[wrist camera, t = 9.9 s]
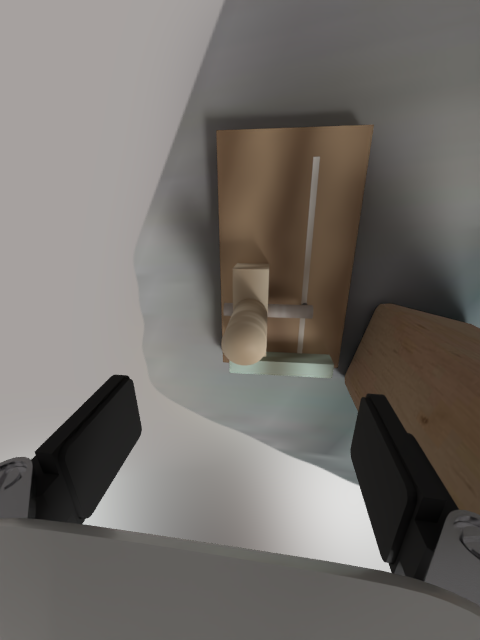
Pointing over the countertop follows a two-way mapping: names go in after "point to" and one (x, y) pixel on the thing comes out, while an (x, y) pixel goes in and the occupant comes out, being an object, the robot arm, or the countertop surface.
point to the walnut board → (293, 233)
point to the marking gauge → (253, 314)
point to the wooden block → (427, 389)
